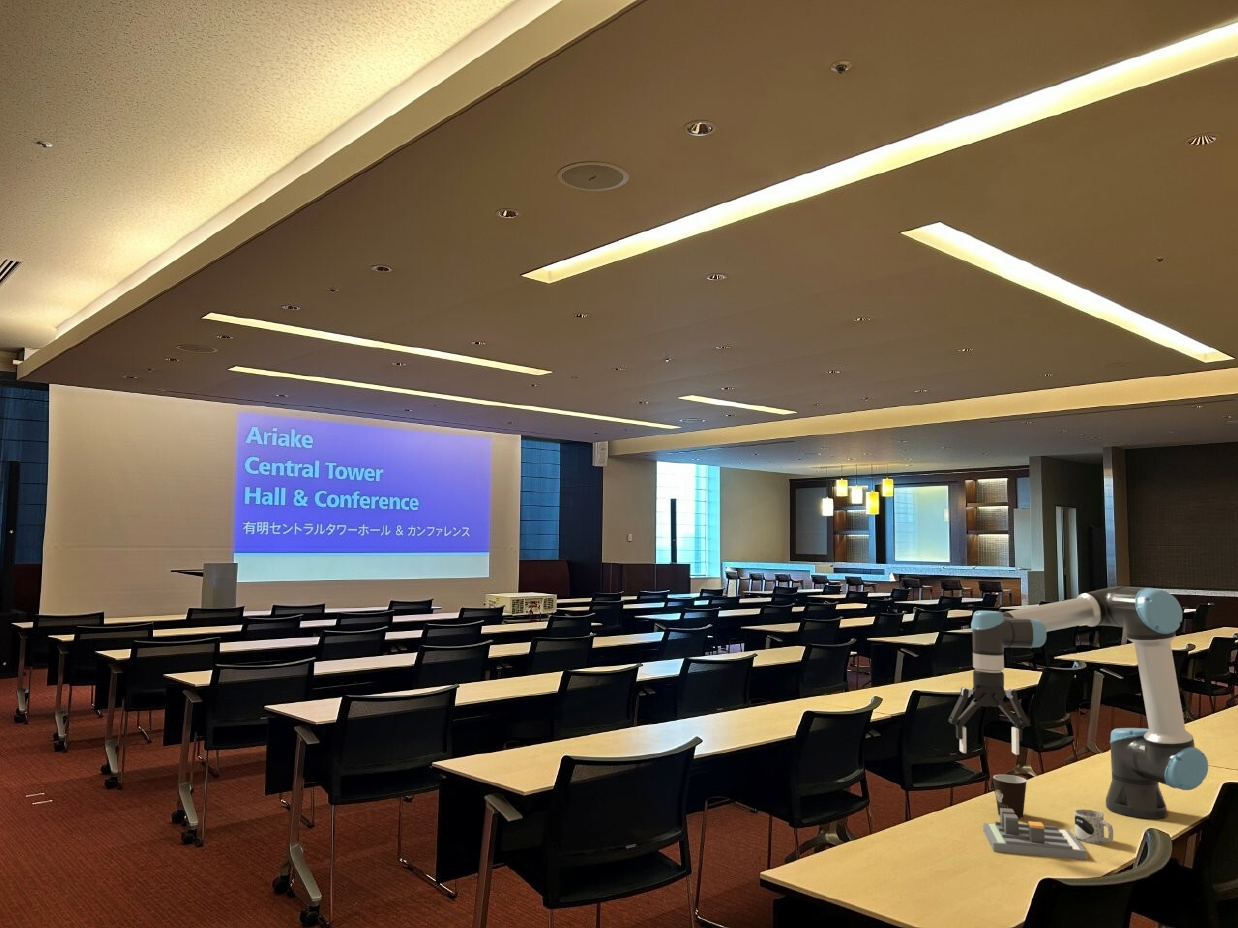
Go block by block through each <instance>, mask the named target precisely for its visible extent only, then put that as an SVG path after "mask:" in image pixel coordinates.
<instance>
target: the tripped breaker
mask: <svg viewBox="0 0 1238 928" xmlns="http://www.w3.org/2000/svg"><path fill="white" fill-rule="evenodd" d="M1027 824H1028V826H1029V841H1030V842H1032V843H1043V844H1045V838H1044V826H1045V825H1044V824H1043V822H1041V821H1030V820H1029V821H1028V823H1027Z"/></svg>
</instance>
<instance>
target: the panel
mask: <svg viewBox="0 0 1238 928" xmlns="http://www.w3.org/2000/svg"><path fill="white" fill-rule="evenodd" d="M982 824H983V826H982V827H983V833H984V835H985V837H986V840H987V842H988V843H989V845H990V847H991V849H992V851H993V852H994V853H995V852H996V853H1007V854H1008V853H1009V854H1017V855H1031V856H1039V857H1040V856H1041V857H1054V858H1060V859H1061V858H1062V859H1075V860H1083V861H1084V860H1085V861H1087V857H1088V856H1087V850H1086V849H1085V848H1084V846H1083V845H1082V844H1081V842H1080V841H1079V840H1077V839H1076V838H1075V834H1073V832H1072V831H1071V830H1070V829H1059V828H1058V826H1053V825H1044V838H1045V844H1043V843H1032V842H1030V841H1029V826H1028V823H1019V835H1011V834H1005V833H1004V828H1001V826H1000V821H995V823H986V822H983V823H982Z"/></svg>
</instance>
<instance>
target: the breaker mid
mask: <svg viewBox="0 0 1238 928" xmlns="http://www.w3.org/2000/svg"><path fill="white" fill-rule="evenodd" d="M1003 818H1004V833H1005V834H1011V835H1019V824H1020V822H1019V819H1018V817H1017V815H1015V814H1003Z"/></svg>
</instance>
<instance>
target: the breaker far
mask: <svg viewBox="0 0 1238 928" xmlns="http://www.w3.org/2000/svg"><path fill="white" fill-rule="evenodd" d="M1003 814H1015V812H1014V811H1013V809H1008V808H1000V815H999V816H1000V817H999V819H1000V820H999V822H1000V826H1001V828H1004V818H1003Z"/></svg>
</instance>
